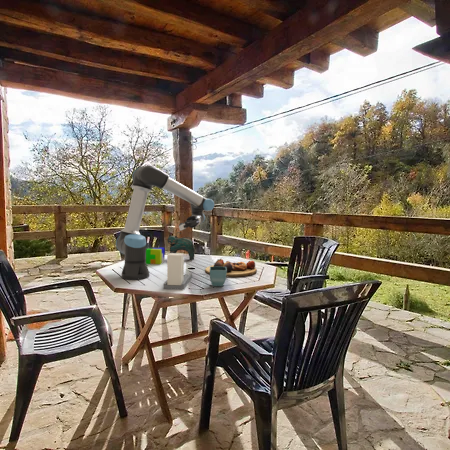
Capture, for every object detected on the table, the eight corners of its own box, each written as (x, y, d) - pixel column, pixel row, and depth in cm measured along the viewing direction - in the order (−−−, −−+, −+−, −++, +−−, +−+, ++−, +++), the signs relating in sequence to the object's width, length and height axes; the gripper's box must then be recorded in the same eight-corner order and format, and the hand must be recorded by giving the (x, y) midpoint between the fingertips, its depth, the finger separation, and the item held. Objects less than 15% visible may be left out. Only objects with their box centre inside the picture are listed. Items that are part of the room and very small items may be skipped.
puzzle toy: (164, 261, 224) (164, 247, 223) (160, 264, 214) (160, 249, 213) (150, 261, 225) (150, 247, 224) (145, 263, 215) (145, 249, 214)
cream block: (167, 284, 157) (167, 255, 156) (170, 281, 163) (170, 253, 162) (181, 285, 157) (181, 255, 156) (183, 282, 163) (183, 253, 162)
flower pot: (226, 283, 169) (226, 266, 169) (226, 287, 161) (226, 270, 160) (209, 282, 169) (209, 266, 168) (209, 287, 160) (209, 270, 160)
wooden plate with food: (261, 268, 207) (261, 256, 207) (250, 279, 177) (250, 265, 177) (215, 265, 217) (215, 253, 217) (197, 275, 187) (197, 261, 186)
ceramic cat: (167, 259, 233) (167, 232, 231) (169, 257, 239) (169, 231, 237) (193, 260, 230) (193, 232, 229) (195, 258, 237) (195, 232, 235)
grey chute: (163, 288, 157) (163, 283, 156) (174, 276, 180) (174, 272, 180) (183, 289, 156) (184, 284, 156) (192, 277, 180) (192, 272, 180)
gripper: (204, 224, 204) (192, 232, 181) (185, 228, 207) (171, 236, 185) (201, 213, 203) (189, 219, 180) (182, 217, 206) (168, 224, 184)
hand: (180, 228), depth 183 cm, fingers closed
